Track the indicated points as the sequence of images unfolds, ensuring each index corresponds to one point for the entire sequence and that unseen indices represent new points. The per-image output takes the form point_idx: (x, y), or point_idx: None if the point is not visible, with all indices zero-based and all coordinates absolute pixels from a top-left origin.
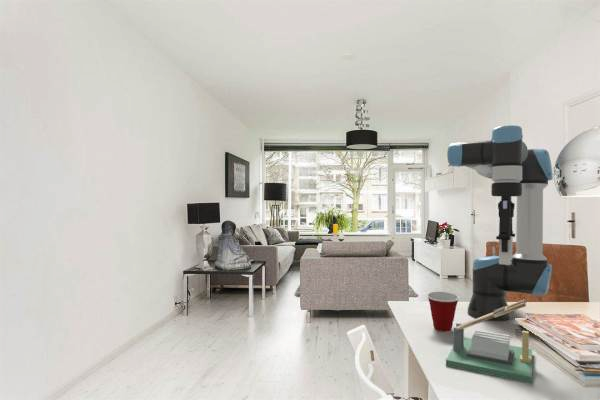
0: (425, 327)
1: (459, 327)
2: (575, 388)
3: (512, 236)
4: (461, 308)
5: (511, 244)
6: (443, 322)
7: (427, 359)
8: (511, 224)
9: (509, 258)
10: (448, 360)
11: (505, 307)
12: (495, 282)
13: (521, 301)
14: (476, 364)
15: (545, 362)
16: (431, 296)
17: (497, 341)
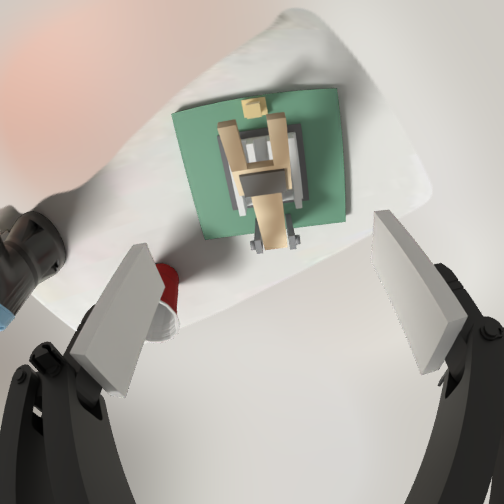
0: (180, 296)
1: (286, 240)
2: (305, 29)
3: (63, 357)
4: (48, 282)
5: (111, 314)
6: (174, 281)
7: (334, 246)
8: (82, 476)
9: (405, 233)
10: (345, 217)
11: (244, 172)
12: (8, 268)
13: (235, 133)
14: (337, 176)
15: (203, 82)
16: (149, 333)
17: (294, 159)
